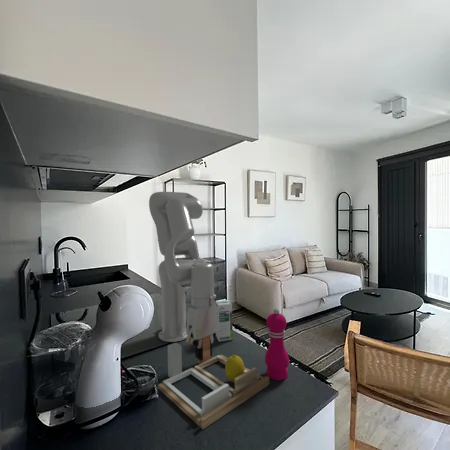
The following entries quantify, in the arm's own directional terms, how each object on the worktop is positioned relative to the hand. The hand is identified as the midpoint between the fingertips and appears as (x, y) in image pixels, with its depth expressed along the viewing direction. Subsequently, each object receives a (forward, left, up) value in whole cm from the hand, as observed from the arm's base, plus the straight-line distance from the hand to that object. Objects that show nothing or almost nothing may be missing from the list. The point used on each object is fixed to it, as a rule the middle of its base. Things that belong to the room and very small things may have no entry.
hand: (203, 356), depth 87 cm
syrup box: (-10, +18, -3) cm, 20 cm away
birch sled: (+9, 0, -2) cm, 9 cm away
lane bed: (+11, -5, -2) cm, 13 cm away
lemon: (+14, 0, -3) cm, 15 cm away
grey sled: (+9, -11, -2) cm, 14 cm away
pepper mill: (+20, +12, -3) cm, 24 cm away
